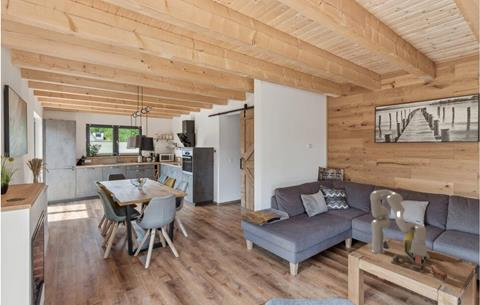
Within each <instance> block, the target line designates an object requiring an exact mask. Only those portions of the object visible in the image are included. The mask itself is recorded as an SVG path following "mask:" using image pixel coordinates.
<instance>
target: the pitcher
mask: <svg viewBox="0 0 480 305" xmlns="http://www.w3.org/2000/svg"><path fill="white" fill-rule="evenodd" d="M412 238H414V232H409V233H406V235H405V236H404V237H403V241H402V243H403V244H402V245H403V247H404V248H405V240H411V241H413V239H412Z"/></svg>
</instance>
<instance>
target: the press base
mask: <svg viewBox="0 0 480 305" xmlns="http://www.w3.org/2000/svg"><path fill="white" fill-rule="evenodd" d="M399 259H402V260H403V263H402V264H401V263H399ZM390 263H391V265H394V266H399V267H401V268H404V269H407V270H411V271H413V272H416V273H420V274H423V273H424V272H425V269H426V265H424V264H423V267H422V269H421V270H418V269H415V268H413V264H414V262H412V261H411V260H407V259H403V258H401V257H399V254H397V253H395V254H394V255H393V257H392V260H391V261H390Z"/></svg>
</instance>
